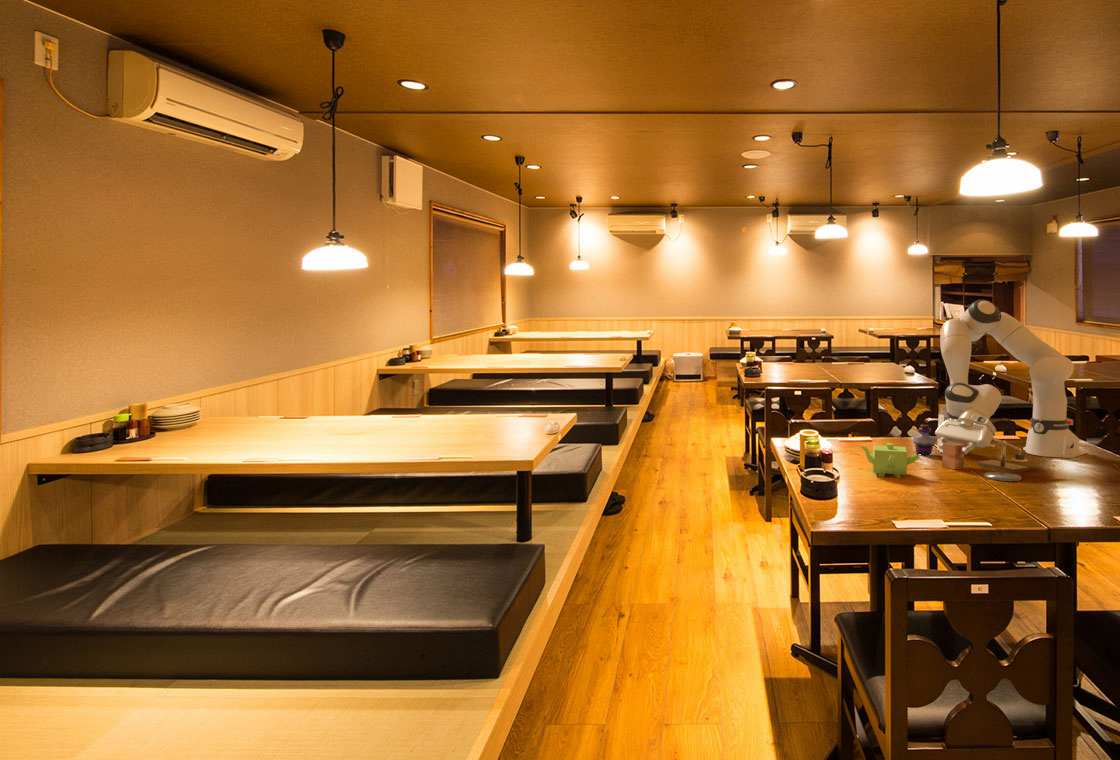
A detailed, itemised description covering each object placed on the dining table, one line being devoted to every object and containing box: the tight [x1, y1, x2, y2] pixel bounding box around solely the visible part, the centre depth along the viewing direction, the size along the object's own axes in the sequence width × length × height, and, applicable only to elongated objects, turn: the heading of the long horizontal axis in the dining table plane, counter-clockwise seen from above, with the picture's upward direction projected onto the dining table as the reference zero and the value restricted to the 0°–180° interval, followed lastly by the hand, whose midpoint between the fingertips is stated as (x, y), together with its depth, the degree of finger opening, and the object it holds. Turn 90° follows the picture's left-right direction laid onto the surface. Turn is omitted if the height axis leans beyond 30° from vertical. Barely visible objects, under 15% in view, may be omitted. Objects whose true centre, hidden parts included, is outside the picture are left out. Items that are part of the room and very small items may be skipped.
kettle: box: [858, 442, 920, 478], centre depth 261 cm, size 15×14×11 cm
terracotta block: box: [941, 442, 966, 470], centre depth 269 cm, size 5×5×9 cm
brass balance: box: [977, 436, 1029, 473], centre depth 268 cm, size 8×18×11 cm, turn 23°
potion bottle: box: [912, 424, 937, 456], centre depth 292 cm, size 9×9×12 cm
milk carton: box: [936, 405, 961, 454], centre depth 295 cm, size 7×7×19 cm
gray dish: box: [984, 471, 1022, 483], centre depth 254 cm, size 11×11×1 cm
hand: (952, 450), depth 269 cm, fingers open, 8 cm apart
